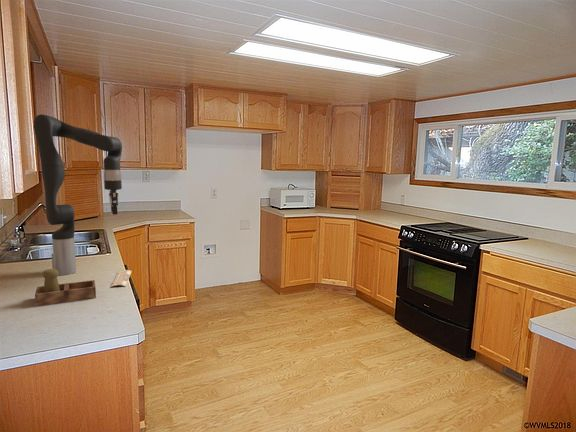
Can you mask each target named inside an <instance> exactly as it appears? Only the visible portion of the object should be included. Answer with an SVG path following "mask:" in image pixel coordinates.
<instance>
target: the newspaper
mask: <svg viewBox="0 0 576 432" xmlns="http://www.w3.org/2000/svg"><path fill="white" fill-rule="evenodd" d="M131 274H132V270H129V269H124V270H120V271H118V272H117V273H116V276H115V278H114V279H113V281H112V284H111V285H110V287H111V288H113V287H115V286H123V287H124V288H125V287H126V286H127V285H128V281H129V279H130V276H131Z"/></svg>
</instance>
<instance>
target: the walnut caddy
mask: <svg viewBox="0 0 576 432" xmlns="http://www.w3.org/2000/svg"><path fill="white" fill-rule="evenodd" d="M95 281H96V280H95V279H92V280H86V281H85V280H83V281H74V282H73V281H72V282H65V283H58V284H59V289H60V291H55V292H47V293H44V285H42V286H41V285H40V286H39V285H38V286H37V287H36V291H35V293H34V301H35V302H34V303H35V307H38V306H39V307H40V306H46V305H53V304H61V303H69V302H75V301H84V300H90V299H97V293H96V292H97V291H96V282H95Z"/></svg>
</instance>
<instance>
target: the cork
mask: <svg viewBox="0 0 576 432" xmlns="http://www.w3.org/2000/svg"><path fill="white" fill-rule="evenodd" d="M58 276H59V275H58V271H57V270H56V269H53V268H49V269H45V270H44V271H43V272H42V277H43V279H44V284H43V286H44V293H47V292H55V291H60V289H59V284H60V283H59V281H58Z"/></svg>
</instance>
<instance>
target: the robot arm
mask: <svg viewBox="0 0 576 432" xmlns="http://www.w3.org/2000/svg"><path fill="white" fill-rule="evenodd" d="M33 123H34V125H33V130H34V134H35V138H36V142H37V147H38V153H39V159H40V168H41V175H42V181H43V187H44V188H43V189H44V198H45V199H44V200H45V215H46V220H47V222H48V224H49V225H51V226H55V225H56V226H58V225H62V226H61V227H60V228H58V229H56V230H55V231H53V232H52V233H51V241H52V243H51V244H52V253H51V264H52V269H56V270H57V271H58V276H66V275H71V274H74V273H76V272H77V264H76V263H77V262H76V261H77V259H76V246H75V243H76V242H75V211H74V207H73V206H72V205H71V204H67V203H66V204H65V203H64V204H57V195H58V192H59V190H60V188H61V186H63V183H64V181H65V177H66V173H65V166H64V165H65V164H64V162H63V159H62V157H61V156H60V154H59V152H58V150H57V148H56V147H55V143H54V137H57V138H59V137H60V138H65V139H70V140H73V141H75V142H78V143H80V144H83V145H86V146H89V147H94V148H96V149H98V150H100V151H103V152H107V156H106V157H104V158H103V185H104V190H106V191H109V193H108V197H109V203H110V204H109V205H110V212H111V213H112V215H118V214H119V213H118V206H119V193H118V192H117V191H118V190H122V189H123V188H122V187H123V186H122V173H121V158H122V152H123V144H122V141H121V139H120V138H118V137H116V136H109V135H104V134H101V133H99V132H97V131H95V130H94V131H93V130H91V129H86V128H83V127H77V126H74V125H71V124H68V123H66V122H64V121H62V120H60V119H58V118H56V117H53V116H50V115H47V114H44V113H43V114H38V115H36V116H35V118H34V119H33Z"/></svg>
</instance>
